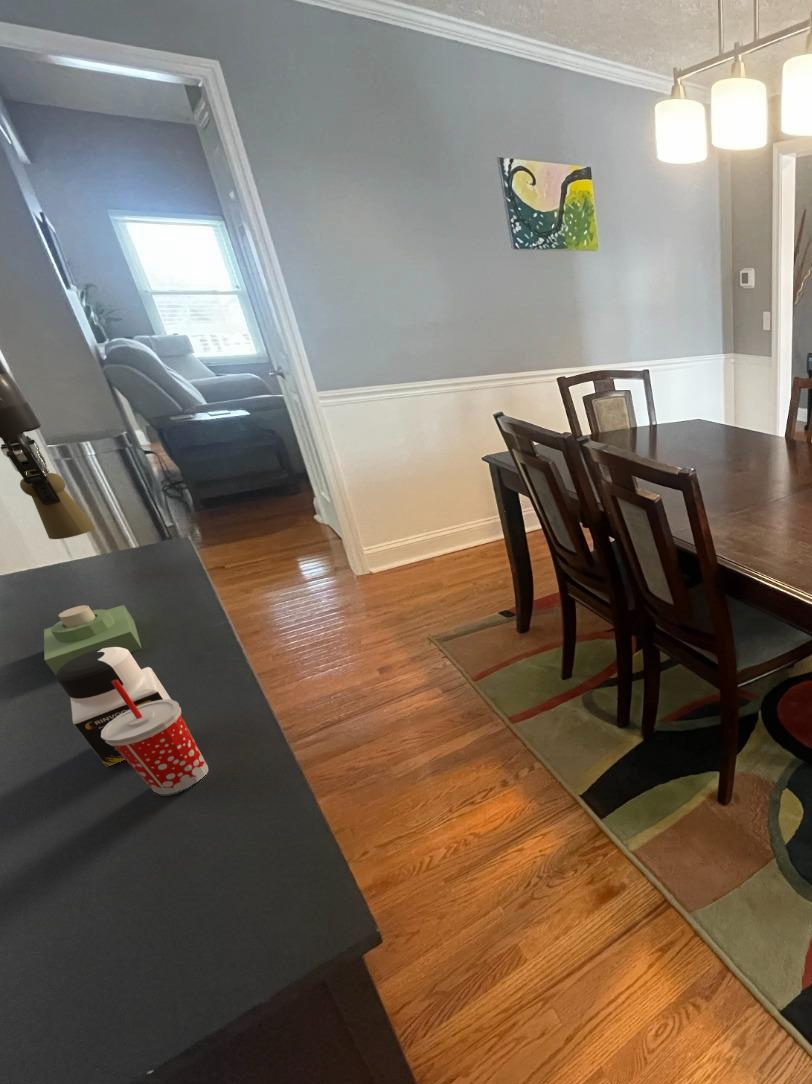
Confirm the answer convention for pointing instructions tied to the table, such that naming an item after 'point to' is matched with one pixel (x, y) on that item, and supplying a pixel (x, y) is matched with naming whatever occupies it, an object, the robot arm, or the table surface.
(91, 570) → the table surface
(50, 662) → the green push button box
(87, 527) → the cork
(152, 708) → the beverage cup
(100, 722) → the medicine bottle
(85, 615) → the beige button cap
